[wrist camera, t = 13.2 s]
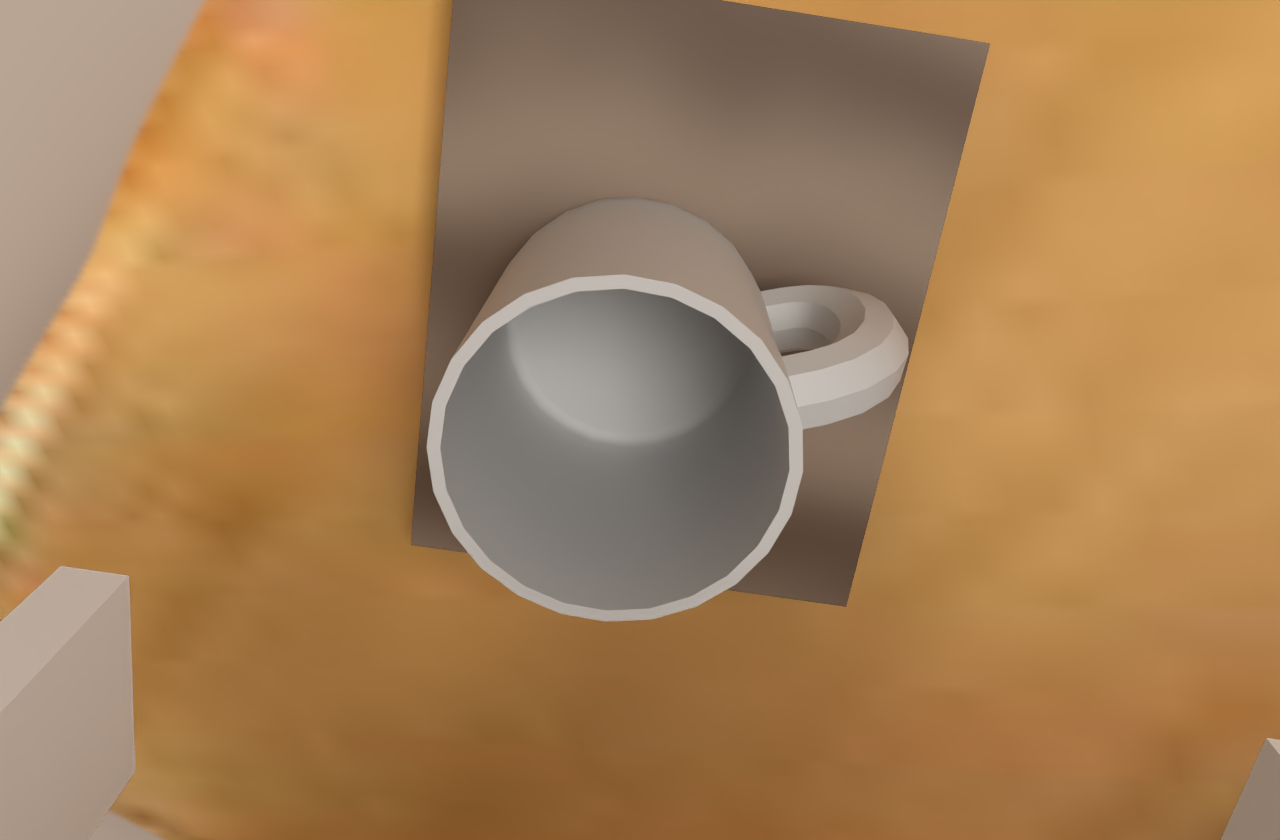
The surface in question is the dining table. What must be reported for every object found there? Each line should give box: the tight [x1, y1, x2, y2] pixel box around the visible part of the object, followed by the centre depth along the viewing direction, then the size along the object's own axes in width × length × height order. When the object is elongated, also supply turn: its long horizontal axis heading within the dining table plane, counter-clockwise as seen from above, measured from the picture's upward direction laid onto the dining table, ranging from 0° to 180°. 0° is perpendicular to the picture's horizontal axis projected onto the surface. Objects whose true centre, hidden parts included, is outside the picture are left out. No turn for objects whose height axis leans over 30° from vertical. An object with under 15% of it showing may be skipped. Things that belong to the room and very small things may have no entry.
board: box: [411, 0, 990, 607], centre depth 30 cm, size 16×13×2 cm
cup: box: [427, 197, 909, 622], centre depth 25 cm, size 7×10×9 cm
